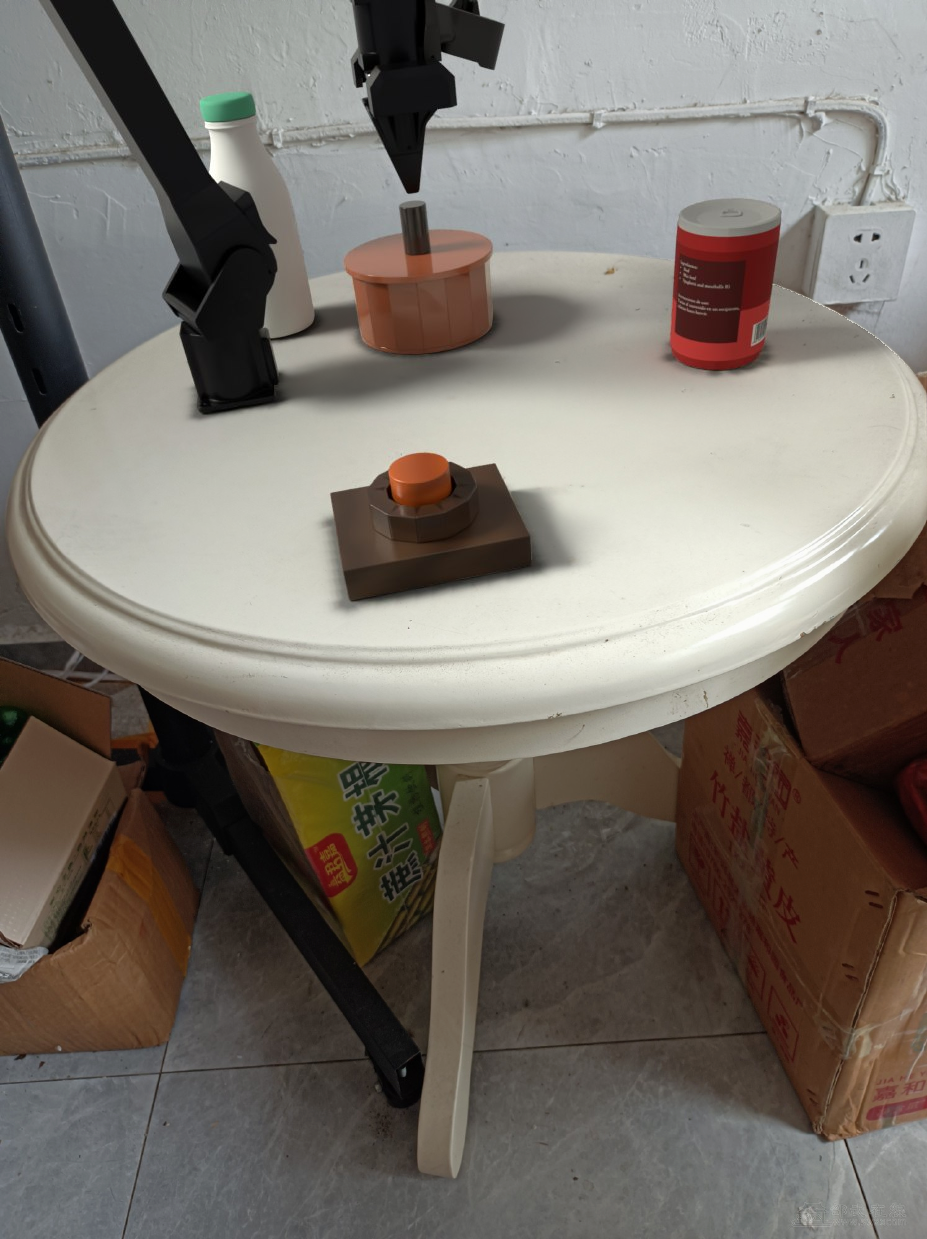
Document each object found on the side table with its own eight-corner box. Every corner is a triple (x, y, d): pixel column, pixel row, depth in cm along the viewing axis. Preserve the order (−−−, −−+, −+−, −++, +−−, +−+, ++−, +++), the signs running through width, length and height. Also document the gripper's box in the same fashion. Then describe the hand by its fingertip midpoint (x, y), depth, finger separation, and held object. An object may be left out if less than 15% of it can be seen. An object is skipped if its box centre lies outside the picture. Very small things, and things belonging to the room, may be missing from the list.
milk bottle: (324, 329, 84) (278, 93, 72) (246, 347, 83) (185, 108, 70) (306, 306, 90) (260, 83, 77) (233, 322, 88) (174, 97, 76)
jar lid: (353, 301, 73) (342, 236, 70) (339, 255, 83) (329, 197, 80) (509, 276, 74) (506, 211, 71) (476, 234, 85) (471, 176, 81)
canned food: (747, 329, 75) (764, 193, 68) (776, 366, 69) (798, 221, 62) (659, 338, 75) (667, 203, 69) (680, 376, 69) (691, 232, 62)
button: (396, 513, 50) (392, 487, 49) (388, 483, 53) (384, 458, 52) (457, 502, 51) (454, 476, 50) (445, 472, 53) (442, 447, 52)
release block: (349, 601, 50) (336, 544, 48) (335, 520, 57) (324, 467, 54) (532, 565, 51) (529, 508, 49) (497, 491, 58) (493, 437, 56)
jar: (369, 363, 77) (357, 290, 73) (354, 315, 87) (343, 249, 83) (506, 340, 78) (502, 268, 74) (476, 296, 88) (471, 230, 84)
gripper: (519, -45, 58) (530, 205, 67) (468, -50, 72) (483, 157, 82) (354, -25, 57) (389, 226, 67) (335, -33, 71) (367, 174, 81)
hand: (412, 192), depth 74 cm, fingers closed
